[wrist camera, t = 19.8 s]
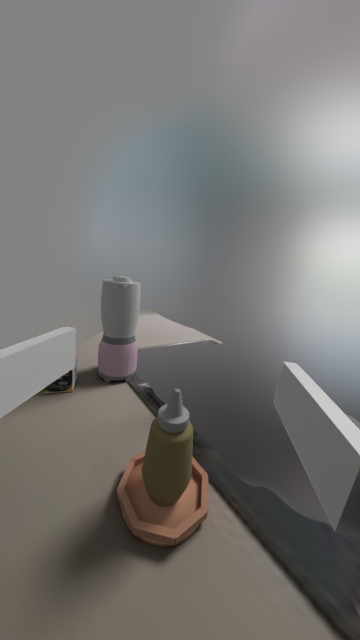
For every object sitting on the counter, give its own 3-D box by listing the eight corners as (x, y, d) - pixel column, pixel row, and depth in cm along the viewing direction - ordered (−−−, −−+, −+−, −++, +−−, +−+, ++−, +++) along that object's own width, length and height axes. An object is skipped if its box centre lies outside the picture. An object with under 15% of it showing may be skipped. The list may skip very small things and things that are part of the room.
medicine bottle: (42, 394, 55) (41, 351, 53) (50, 380, 62) (49, 341, 59) (72, 392, 58) (72, 351, 55) (76, 378, 64) (76, 342, 61)
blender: (138, 382, 66) (146, 280, 59) (96, 385, 62) (99, 276, 55) (132, 361, 80) (138, 276, 73) (98, 362, 76) (101, 273, 69)
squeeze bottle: (130, 504, 31) (139, 399, 27) (151, 459, 39) (159, 372, 35) (182, 524, 30) (199, 415, 26) (193, 473, 37) (207, 383, 33)
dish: (206, 464, 41) (208, 455, 40) (204, 559, 27) (207, 547, 27) (137, 449, 42) (138, 440, 42) (103, 531, 29) (103, 519, 28)
